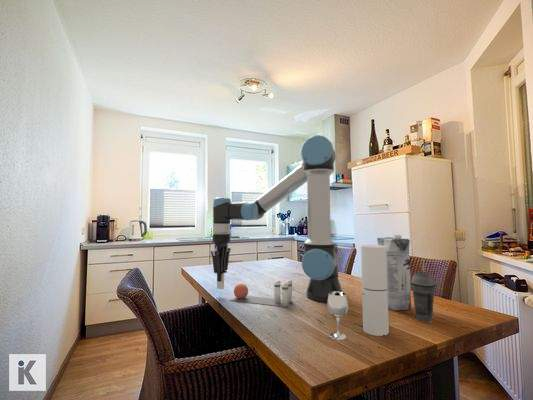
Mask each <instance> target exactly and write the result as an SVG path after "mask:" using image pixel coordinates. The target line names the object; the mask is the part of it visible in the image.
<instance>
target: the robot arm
mask: <svg viewBox="0 0 533 400" xmlns="http://www.w3.org/2000/svg"><path fill="white" fill-rule="evenodd" d="M300 156H301V159H302V161H300V165H298V166H297V167H296V168H295V169H294V170H292V171H291V172H290V173H289V174H287V175H286V176H285V177H283V178H282V179H281V180H280V181H278V182H277V183H275V184H274V185H273V186H272V187H271V188H269V189H268V190H267V191H265V192H264V193H262V195H260V196H259V197H257V199H255V200H254V201H253V202H251V201H246V202H245V201H240V202H234V201H233V202H232V199H231V198H230V197H215V198H214V199H213V203H212V204H213V205H212V209H213V211H212V217H213V219H212V233H213V234H212V243H213V244H214V250H211V251H210V255H211V256H212V264H213V267H212V269H213V273H214V274H216V290H224V289H225V273H227V272H228V268H229V267H228V266H229V260H230V253H231V250H232V249H231V247H229V244H228V243H230V242H231V234H230V233H231V221H234V220H236V221H256V220H260V219H262V218H263V217H264V216H265V214H266V213H267V212H269V211H271V209H273V208H274V207H275V206H277V205H278V204H279V203H280V202H282V201H283V200H284V199H286V198H287V197H288V196H290V195H291V194H292V193H294V192H295V191H297V190H298V189H299V188H301V187H302V186H303V185H305V184H306V183H307V188H306V190H307V192H306V193H307V197H306V198H307V238H306V240H305V241H304V242H303V256H302V259H301V268H302V270H303V272H304V274H305V275H306V276H307V277H308V278H309V281H308V284H307V288H306V297H307V298H308V299H310V300H313V301H317V302H327V301H328V295H329V292H332V291H339V292H343V289H342V287H341V286H342V285H341V283H340V281H339V280H340V279H339V253H338V252H339V247H338V243H336V242H335V241H334V240H333V239H332V237H331V188H330V187H331V184H330V183H331V181H330V180H331V179H330V177H331V175H332V174H333V173H334V172H335V171H334V169H335V168H334V166H335V165H334V164H335V161H336V152H335V150H334V146H333V143H332V142H331V140H329V139H328V138H327V137H326V136H323V135H320V134H319V135H318V134H317V135H312V136H310V137H308V138H306V140H304V141H303V143H302V144H301V148H300Z"/></svg>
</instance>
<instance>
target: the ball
mask: <svg viewBox="0 0 533 400" xmlns="http://www.w3.org/2000/svg"><path fill="white" fill-rule="evenodd" d="M233 294H234V296H235V297H237V298H239V299H243V298H245V297H246V296H249V289H248V287H247V285H246V284H244V283H238V284H237V285H236V286H234V289H233Z"/></svg>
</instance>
